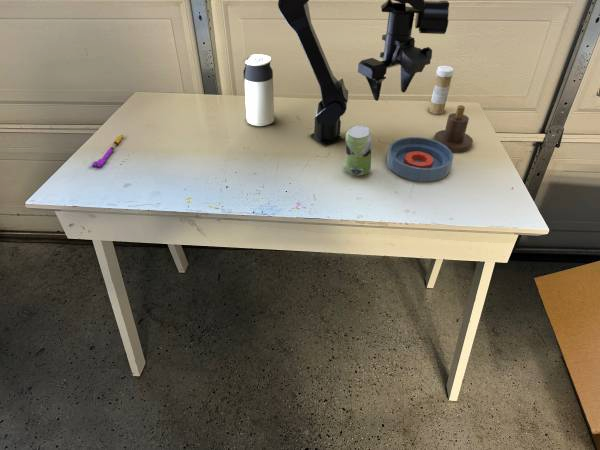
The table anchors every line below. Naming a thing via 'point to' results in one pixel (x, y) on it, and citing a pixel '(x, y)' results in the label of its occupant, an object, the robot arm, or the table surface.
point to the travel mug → (259, 90)
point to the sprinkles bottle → (441, 89)
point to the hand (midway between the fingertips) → (389, 96)
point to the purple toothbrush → (107, 154)
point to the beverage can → (358, 150)
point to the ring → (418, 156)
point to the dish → (411, 144)
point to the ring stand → (455, 132)
